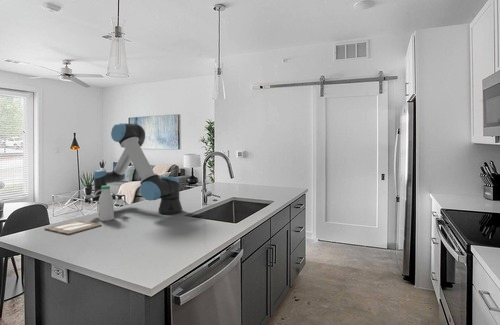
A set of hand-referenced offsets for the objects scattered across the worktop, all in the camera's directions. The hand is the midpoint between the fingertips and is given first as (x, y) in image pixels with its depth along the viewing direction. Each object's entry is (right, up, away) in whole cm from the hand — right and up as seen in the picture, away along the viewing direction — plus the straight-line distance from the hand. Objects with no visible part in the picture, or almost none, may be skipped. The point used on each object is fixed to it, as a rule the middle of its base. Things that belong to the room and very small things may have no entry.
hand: (104, 201), depth 172 cm
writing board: (-8, -12, -17) cm, 22 cm away
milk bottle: (+1, -11, 0) cm, 11 cm away
